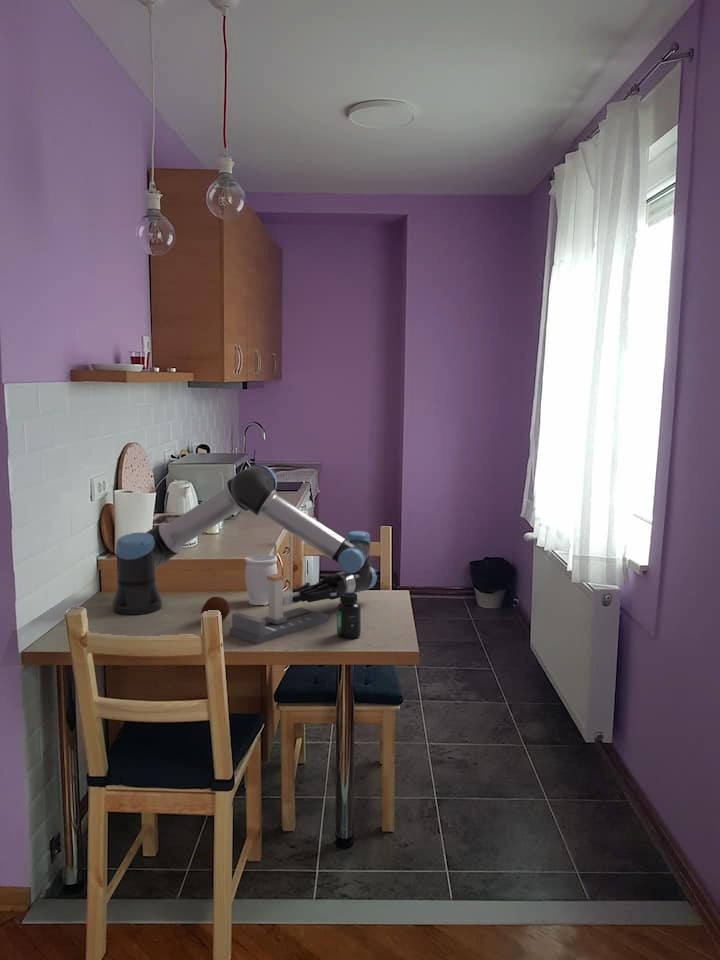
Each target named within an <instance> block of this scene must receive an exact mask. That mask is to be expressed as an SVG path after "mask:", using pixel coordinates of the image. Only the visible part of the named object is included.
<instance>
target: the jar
mask: <svg viewBox="0 0 720 960" xmlns="http://www.w3.org/2000/svg"><path fill="white" fill-rule="evenodd" d="M244 562H245V563H246V565H245V571H244V579H245V586H246V592H247V594H248V596H249V600H248V604H250V605H252V606H257V605H264V606H269V605H268V579H267V576H269V575H273V574H279V573H278V572H279V571H278V566H277V562H278V556H275V555H270V554H255V555H249V556H247V557H245V558H244Z"/></svg>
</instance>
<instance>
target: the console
mask: <svg viewBox="0 0 720 960" xmlns="http://www.w3.org/2000/svg"><path fill="white" fill-rule="evenodd" d="M283 616H285V617H287V621H286V622H282V623H279V624H274V623H271V622H268V621H265V617H263V618H257V617H254V616H251V615H248V614H244V613H241V612H234V613H232V614H231V618H232V619H231V620H232V622H231V624H232V626H231V627H230V628H229V635H230V636H231V635H233V636H232V637H234V636H235V638H237V637H238V639H240V640H244V641H246V642H250V643H252V644H256V645H259V644H262V643H265V642H269V641H272V640H275V639H278V638H281V637H284V636H286V635H290V634H293V633H297V632H299V631H302V630H305V629H309V628H312V627H315V626H318V625H320V624H324V623H327V622H329V614H327V613H323V612H319V611H316V610H313V609H309V608H304V607H296V608H294V609H293V608H292V609H290V610H287V611H283Z"/></svg>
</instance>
